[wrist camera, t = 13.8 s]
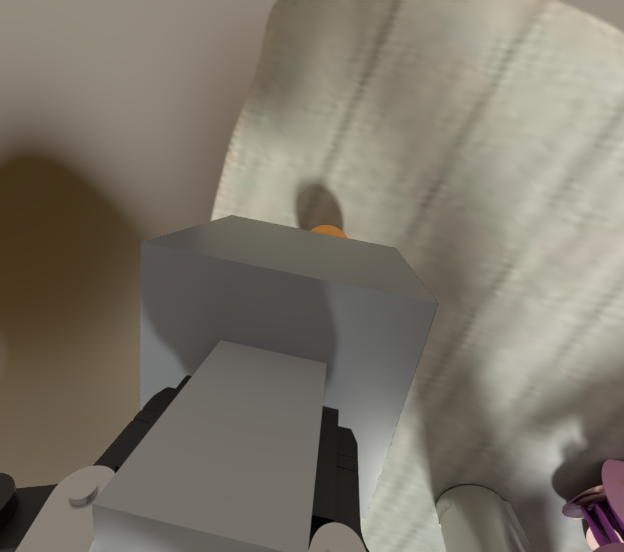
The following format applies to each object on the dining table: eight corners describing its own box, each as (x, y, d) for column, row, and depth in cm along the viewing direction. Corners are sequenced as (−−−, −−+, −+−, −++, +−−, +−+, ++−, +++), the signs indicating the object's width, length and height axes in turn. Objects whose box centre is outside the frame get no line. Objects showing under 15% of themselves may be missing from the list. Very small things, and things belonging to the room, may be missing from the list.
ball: (347, 271, 29) (342, 282, 33) (357, 222, 30) (351, 240, 34) (295, 259, 29) (298, 272, 34) (307, 212, 30) (308, 230, 35)
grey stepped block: (395, 247, 18) (563, 468, 4) (357, 387, 21) (381, 777, 7) (231, 215, 19) (-108, 315, 5) (218, 356, 22) (-10, 669, 8)
